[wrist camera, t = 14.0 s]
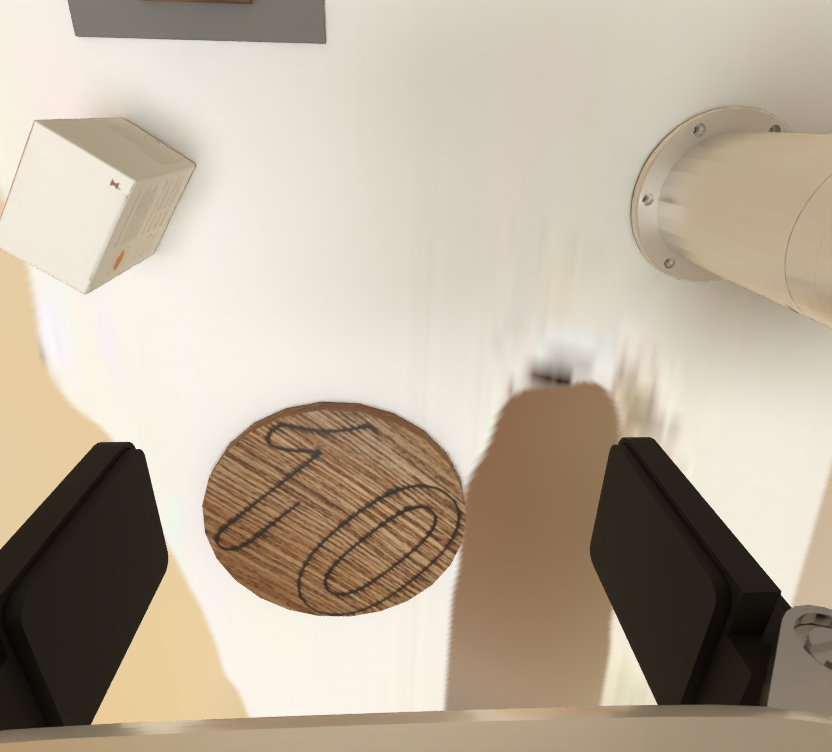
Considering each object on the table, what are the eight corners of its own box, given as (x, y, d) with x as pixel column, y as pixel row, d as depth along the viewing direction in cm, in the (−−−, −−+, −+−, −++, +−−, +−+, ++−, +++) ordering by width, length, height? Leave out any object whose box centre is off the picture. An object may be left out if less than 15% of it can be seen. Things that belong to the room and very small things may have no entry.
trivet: (158, 523, 53) (150, 537, 51) (315, 345, 45) (312, 354, 44) (355, 634, 61) (354, 649, 59) (515, 498, 53) (519, 511, 52)
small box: (123, 115, 37) (32, 113, 28) (199, 164, 39) (137, 179, 29) (81, 214, 40) (-15, 244, 30) (154, 256, 41) (84, 297, 32)
